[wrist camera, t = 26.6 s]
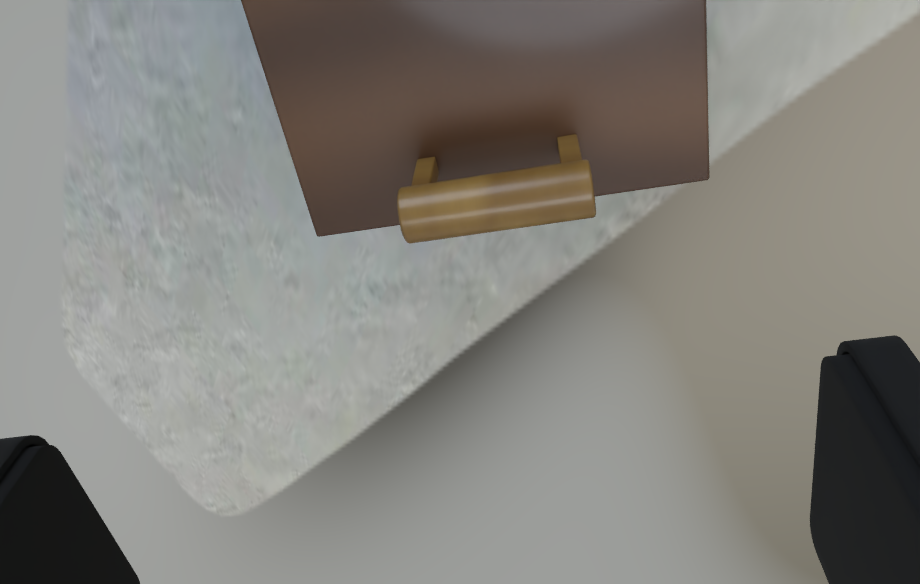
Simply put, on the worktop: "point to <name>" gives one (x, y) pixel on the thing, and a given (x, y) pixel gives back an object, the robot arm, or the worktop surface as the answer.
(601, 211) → the worktop surface
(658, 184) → the lid
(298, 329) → the worktop surface
